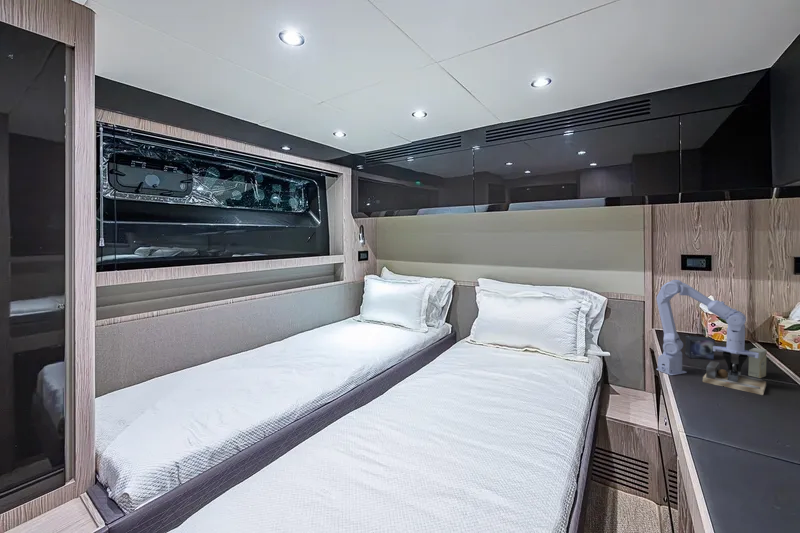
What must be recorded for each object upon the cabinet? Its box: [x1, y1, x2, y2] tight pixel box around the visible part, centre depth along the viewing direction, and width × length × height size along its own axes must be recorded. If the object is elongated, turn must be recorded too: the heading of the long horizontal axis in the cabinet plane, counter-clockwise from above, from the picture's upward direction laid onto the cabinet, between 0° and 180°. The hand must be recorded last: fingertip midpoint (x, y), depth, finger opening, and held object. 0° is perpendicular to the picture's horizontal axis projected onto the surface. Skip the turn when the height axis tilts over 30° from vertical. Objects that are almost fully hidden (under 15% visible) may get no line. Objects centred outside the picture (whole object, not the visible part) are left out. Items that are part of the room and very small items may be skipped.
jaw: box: [728, 361, 742, 382], centre depth 156 cm, size 3×9×7 cm, turn 130°
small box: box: [684, 335, 716, 361], centre depth 189 cm, size 11×6×10 cm, turn 69°
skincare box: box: [747, 347, 768, 379], centre depth 163 cm, size 6×4×12 cm
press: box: [702, 360, 767, 396], centre depth 156 cm, size 19×12×7 cm, turn 40°
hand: (734, 370), depth 156 cm, fingers closed on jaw, 2 cm apart
